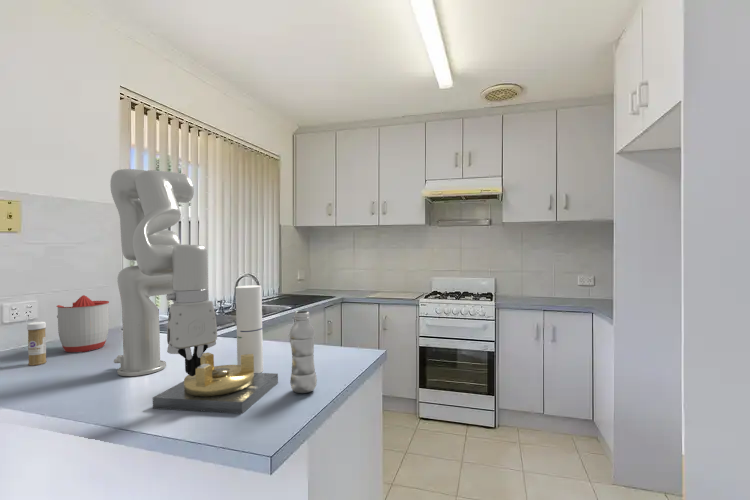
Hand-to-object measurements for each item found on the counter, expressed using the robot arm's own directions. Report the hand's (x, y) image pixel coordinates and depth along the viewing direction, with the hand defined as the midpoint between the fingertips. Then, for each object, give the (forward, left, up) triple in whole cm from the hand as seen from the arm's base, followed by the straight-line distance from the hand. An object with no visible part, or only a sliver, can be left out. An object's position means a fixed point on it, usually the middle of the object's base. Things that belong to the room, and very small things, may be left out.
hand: (193, 374), depth 92 cm
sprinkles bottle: (-71, +23, -7) cm, 75 cm away
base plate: (+4, +5, -7) cm, 9 cm away
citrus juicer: (-73, +41, -7) cm, 84 cm away
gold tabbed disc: (+4, +5, -4) cm, 7 cm away
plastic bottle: (+24, +10, -7) cm, 27 cm away
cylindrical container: (+3, +23, -7) cm, 24 cm away
